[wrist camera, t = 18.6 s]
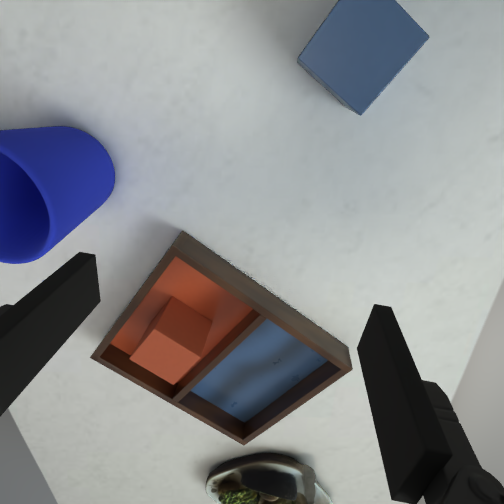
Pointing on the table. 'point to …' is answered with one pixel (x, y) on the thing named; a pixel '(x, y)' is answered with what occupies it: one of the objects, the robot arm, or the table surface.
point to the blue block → (361, 49)
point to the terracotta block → (172, 341)
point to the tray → (228, 345)
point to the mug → (48, 187)
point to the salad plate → (265, 482)
